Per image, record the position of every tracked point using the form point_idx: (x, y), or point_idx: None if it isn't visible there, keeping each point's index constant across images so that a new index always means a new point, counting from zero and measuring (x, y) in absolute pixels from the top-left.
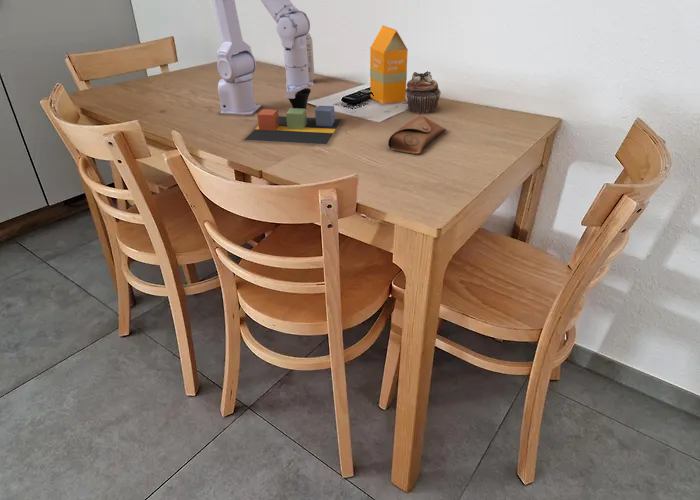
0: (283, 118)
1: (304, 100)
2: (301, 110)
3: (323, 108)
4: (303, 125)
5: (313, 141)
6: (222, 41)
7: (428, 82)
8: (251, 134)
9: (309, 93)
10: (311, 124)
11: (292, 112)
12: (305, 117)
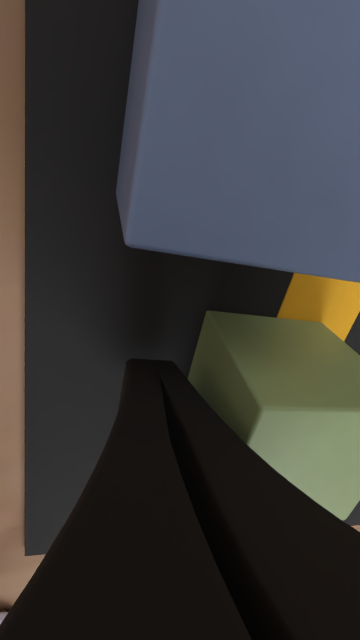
0: (66, 479)
1: (349, 530)
2: (320, 436)
3: (333, 137)
4: (321, 333)
5: None
6: None
7: None
8: None
9: (84, 628)
10: (219, 272)
11: (352, 488)
12: (271, 352)
